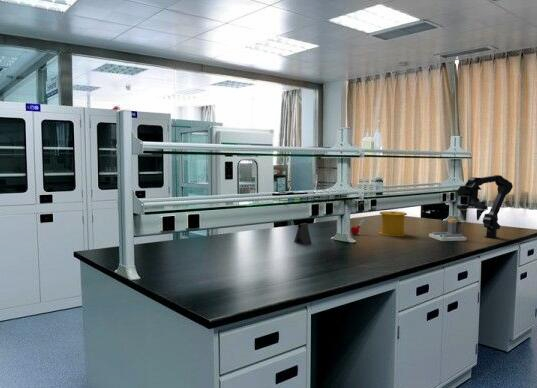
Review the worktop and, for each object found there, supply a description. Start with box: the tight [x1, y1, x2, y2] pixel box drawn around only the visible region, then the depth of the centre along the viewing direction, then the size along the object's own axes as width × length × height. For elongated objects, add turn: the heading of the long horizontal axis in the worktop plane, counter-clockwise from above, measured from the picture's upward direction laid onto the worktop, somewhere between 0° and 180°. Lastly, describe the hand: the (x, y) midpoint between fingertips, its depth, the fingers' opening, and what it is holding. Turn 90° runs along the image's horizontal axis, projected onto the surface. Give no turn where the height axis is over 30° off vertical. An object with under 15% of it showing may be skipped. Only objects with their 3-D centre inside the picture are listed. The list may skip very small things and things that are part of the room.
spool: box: [378, 210, 408, 237], centre depth 301 cm, size 18×18×15 cm
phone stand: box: [293, 222, 312, 245], centre depth 268 cm, size 9×6×12 cm, turn 43°
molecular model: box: [349, 219, 367, 235], centre depth 298 cm, size 18×6×10 cm, turn 126°
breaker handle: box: [445, 218, 458, 234], centre depth 286 cm, size 4×6×10 cm, turn 9°
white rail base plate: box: [428, 231, 468, 242], centre depth 286 cm, size 17×16×4 cm
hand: (471, 220), depth 286 cm, fingers open, 9 cm apart
